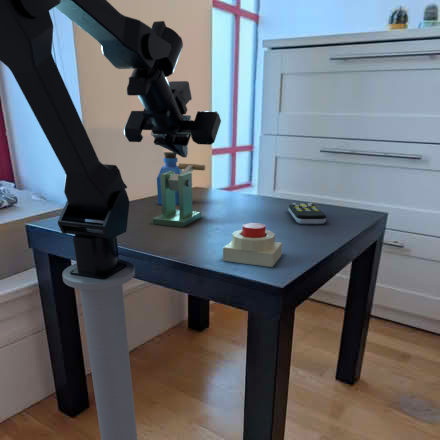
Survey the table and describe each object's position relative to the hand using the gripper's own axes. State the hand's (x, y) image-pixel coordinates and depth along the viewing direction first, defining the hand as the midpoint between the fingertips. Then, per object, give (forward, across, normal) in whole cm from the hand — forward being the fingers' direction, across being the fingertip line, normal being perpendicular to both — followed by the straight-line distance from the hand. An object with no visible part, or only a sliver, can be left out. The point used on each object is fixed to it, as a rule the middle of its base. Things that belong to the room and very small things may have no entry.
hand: (185, 155), depth 88 cm
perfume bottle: (+18, +10, +1) cm, 21 cm away
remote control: (+15, -25, +3) cm, 29 cm away
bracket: (+6, 0, +12) cm, 14 cm away
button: (-9, -22, +22) cm, 33 cm away
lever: (+3, 0, +4) cm, 5 cm away
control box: (-7, -22, +25) cm, 34 cm away
